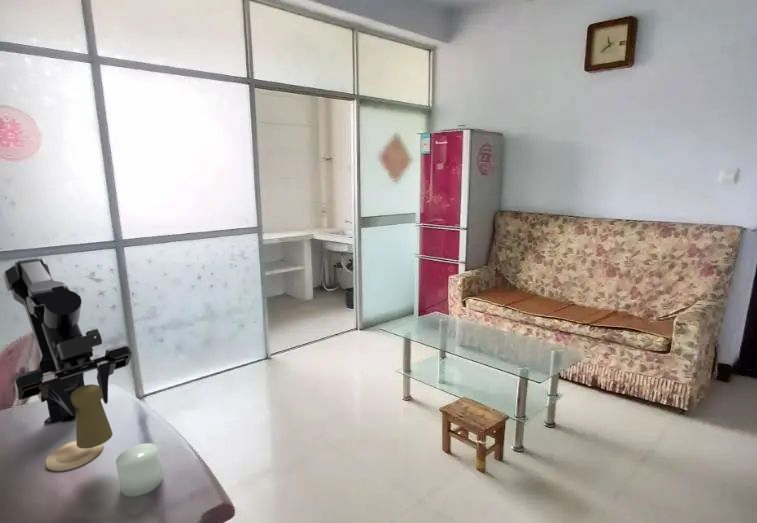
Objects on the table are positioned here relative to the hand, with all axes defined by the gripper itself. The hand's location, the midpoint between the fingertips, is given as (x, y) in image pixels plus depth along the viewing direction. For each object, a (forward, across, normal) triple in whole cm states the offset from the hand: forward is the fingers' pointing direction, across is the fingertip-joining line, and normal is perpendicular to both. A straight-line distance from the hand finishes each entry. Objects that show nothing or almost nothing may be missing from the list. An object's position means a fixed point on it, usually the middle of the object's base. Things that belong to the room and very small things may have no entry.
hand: (90, 408), depth 83 cm
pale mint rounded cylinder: (+17, +4, +2) cm, 17 cm away
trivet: (+3, -2, +16) cm, 17 cm away
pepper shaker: (+4, 0, +6) cm, 7 cm away
